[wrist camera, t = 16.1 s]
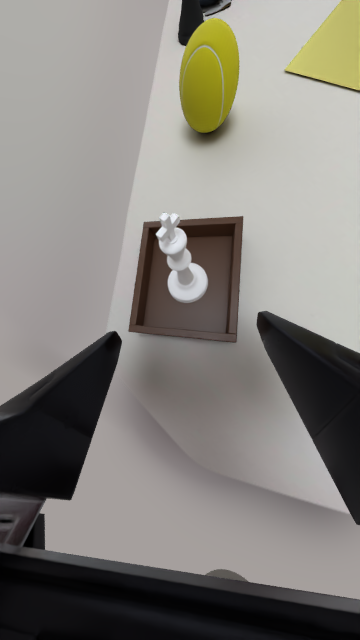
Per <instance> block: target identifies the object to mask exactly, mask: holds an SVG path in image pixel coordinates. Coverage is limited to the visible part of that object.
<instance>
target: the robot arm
mask: <svg viewBox="0 0 360 640" xmlns="http://www.w3.org/2000/svg"><path fill="white" fill-rule="evenodd" d="M257 328H258V331H259V334H260V336H261V339H262V342H263V344H264V347H265V349H266V352H267V354H268V356H269V357H270V359H271V361H272V363H273V365H274V367H275V369H276V371H277V373H278V375H279V377H280V379H281V381H282V382H283V384H284V386H285V388H286V390H287V392H288V394H289V396H290V398H291V400H292V402H293V404H294V406H295V407H296V409H297V411H298V413H299V415H300V417H301V419H302V421H303V423H304V425H305V427H306V429H307V431H308V432H309V434H310V436H311V438H312V439H313V442H314V444H315V446H316V448H317V450H318V452H319V454H320V456H321V458H322V460H323V462H324V463H325V465H326V467H327V469H328V471H329V473H330V475H331V477H332V479H333V481H334V483H335V485H336V487H337V489H338V490H339V492H340V494H341V496H342V498H343V500H344V502H345V504H346V506H347V508H348V510H349V512H350V514H351V515H352V517H353V519H354V521H355V522H356V524H357V525H360V353H358V352H355V351H353V350H351V349H349V348H346V347H344V346H342V345H340V344H336V343H335V342H333V341H331V340H329V339H327V338H324V337H322V336H320V335H318V334H316V333H313V332H311V331H309V330H307V329H305V328H303V327H300V326H298V325H296V324H294V323H292V322H289V321H287V320H285V319H283V318H281V317H279V316H276V315H274V314H272V313H270V312H268V311H262V312H259V313H258V317H257ZM121 344H122V340H121V338H120V337H119V335H118V333H117V332H116V331H112V332H108V333H107V334H106V335H104V336H103V337H101V338H100V339H98V340H97V341H96V342H94V343H93V344H91V345H90V346H88V347H87V348H86V349H84V350H83V351H81V352H80V353H79V354H77V355H76V356H74V357H73V358H71V359H70V360H69V361H67V362H66V363H64V364H63V365H61V366H60V367H58V368H57V369H56V370H54V371H53V372H51V373H50V374H49V375H47V376H45V377H44V378H42V379H41V380H40V381H38V382H37V383H35V384H33V385H32V386H30V387H29V388H28V389H26V390H24V391H23V392H21V393H20V394H18V395H17V396H15V397H14V398H12V399H10V400H9V401H7V402H6V403H4V404H3V405H1V406H0V640H360V600H359V599H352V598H346V597H340V596H333V595H327V594H321V593H314V592H308V591H302V590H295V589H289V588H282V587H276V586H270V585H263V584H257V583H250V582H244V581H238V580H232V579H225V578H219V577H213V576H206V575H199V574H193V573H187V572H181V571H174V570H167V569H161V568H155V567H149V566H143V565H136V564H130V563H123V562H117V561H110V560H104V559H98V558H92V557H85V556H79V555H73V554H66V553H60V552H53V551H47V550H45V531H44V530H45V521H44V514H40V510H41V509H42V507H43V505H44V503H45V501H46V499H47V498H48V499H60V500H71V498H72V496H73V494H74V491H75V488H76V485H77V482H78V479H79V476H80V473H81V470H82V467H83V464H84V461H85V458H86V455H87V452H88V449H89V446H90V443H91V440H92V437H93V434H94V431H95V428H96V425H97V422H98V419H99V416H100V413H101V410H102V407H103V404H104V401H105V398H106V395H107V392H108V389H109V386H110V383H111V380H112V377H113V374H114V371H115V368H116V365H117V362H118V358H119V353H120V349H121Z"/></svg>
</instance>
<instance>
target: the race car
mask: <svg viewBox="0 0 360 640" xmlns="http://www.w3.org/2000/svg"><path fill="white" fill-rule="evenodd" d="M199 4H200V7H201V10H202V12H204V11H206V10H207V12H206V13H205V15H209V14H212V13H215V12H217V11H219V10H220V9H224V8H225V7H227V6H229V5H230V4H231V0H199Z"/></svg>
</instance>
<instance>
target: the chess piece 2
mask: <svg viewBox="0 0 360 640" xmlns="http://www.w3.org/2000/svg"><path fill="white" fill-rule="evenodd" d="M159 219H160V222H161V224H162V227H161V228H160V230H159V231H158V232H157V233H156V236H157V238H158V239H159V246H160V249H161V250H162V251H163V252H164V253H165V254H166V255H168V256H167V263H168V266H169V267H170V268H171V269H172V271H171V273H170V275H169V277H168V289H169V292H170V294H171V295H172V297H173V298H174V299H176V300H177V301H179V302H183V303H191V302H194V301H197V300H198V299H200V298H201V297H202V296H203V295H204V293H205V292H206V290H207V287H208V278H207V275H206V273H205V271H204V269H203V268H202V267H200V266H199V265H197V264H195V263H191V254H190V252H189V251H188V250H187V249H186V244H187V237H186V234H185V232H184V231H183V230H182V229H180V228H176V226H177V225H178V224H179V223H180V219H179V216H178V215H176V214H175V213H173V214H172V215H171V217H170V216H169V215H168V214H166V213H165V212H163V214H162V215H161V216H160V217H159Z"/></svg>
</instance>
